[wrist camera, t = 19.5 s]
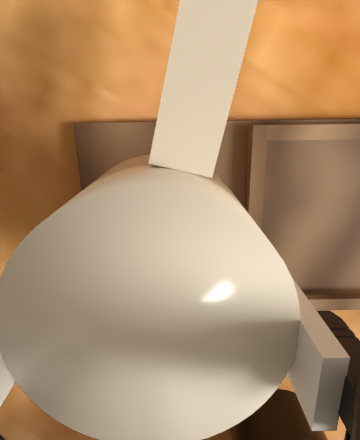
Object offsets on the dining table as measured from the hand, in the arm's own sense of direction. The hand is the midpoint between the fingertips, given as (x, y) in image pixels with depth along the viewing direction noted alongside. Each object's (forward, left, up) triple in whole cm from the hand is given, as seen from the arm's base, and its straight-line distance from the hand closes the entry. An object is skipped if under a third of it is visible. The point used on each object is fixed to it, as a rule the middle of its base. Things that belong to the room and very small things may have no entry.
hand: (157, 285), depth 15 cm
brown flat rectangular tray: (+7, 0, -11) cm, 13 cm away
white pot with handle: (+1, +4, -4) cm, 6 cm away
